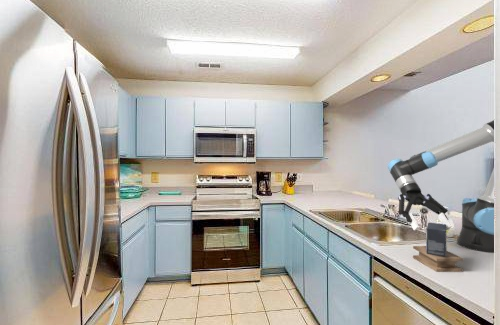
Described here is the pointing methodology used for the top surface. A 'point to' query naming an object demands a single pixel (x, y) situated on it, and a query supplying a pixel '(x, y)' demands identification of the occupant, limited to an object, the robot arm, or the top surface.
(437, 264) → the stand
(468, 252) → the top surface
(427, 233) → the small box
